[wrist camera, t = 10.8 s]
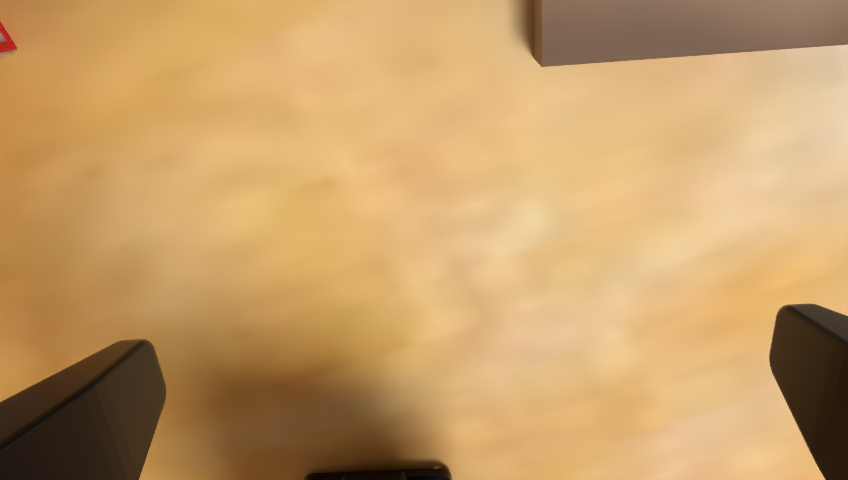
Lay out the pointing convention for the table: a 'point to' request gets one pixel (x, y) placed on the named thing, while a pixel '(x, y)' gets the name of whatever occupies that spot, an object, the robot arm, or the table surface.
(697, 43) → the tower base slab
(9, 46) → the stack of blocks
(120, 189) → the table surface
